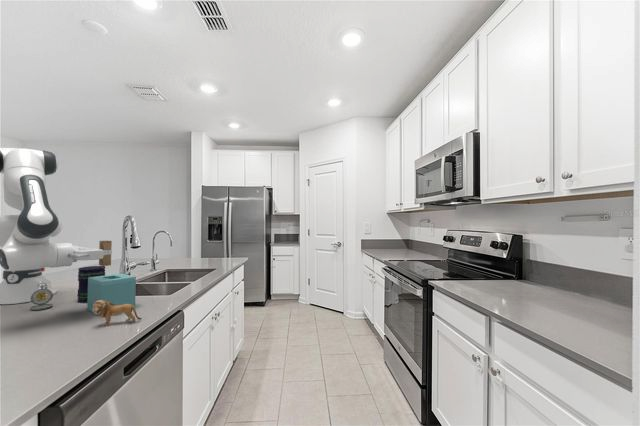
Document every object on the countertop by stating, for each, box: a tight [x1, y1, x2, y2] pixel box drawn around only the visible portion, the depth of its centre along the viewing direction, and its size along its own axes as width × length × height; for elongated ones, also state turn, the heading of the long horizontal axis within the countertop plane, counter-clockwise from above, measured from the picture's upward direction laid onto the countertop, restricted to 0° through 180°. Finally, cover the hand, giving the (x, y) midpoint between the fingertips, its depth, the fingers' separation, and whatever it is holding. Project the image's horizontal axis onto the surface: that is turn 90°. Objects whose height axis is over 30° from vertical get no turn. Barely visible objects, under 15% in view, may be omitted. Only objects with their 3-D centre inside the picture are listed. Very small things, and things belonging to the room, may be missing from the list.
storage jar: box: [76, 265, 106, 304], centre depth 130 cm, size 10×10×15 cm
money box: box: [86, 272, 137, 313], centre depth 118 cm, size 14×12×13 cm
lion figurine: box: [91, 300, 143, 327], centre depth 101 cm, size 15×5×9 cm, turn 117°
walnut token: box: [98, 239, 113, 267], centre depth 116 cm, size 5×2×10 cm, turn 56°
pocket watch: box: [30, 283, 54, 311], centre depth 118 cm, size 8×8×10 cm
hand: (107, 251), depth 117 cm, fingers closed on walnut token, 5 cm apart
